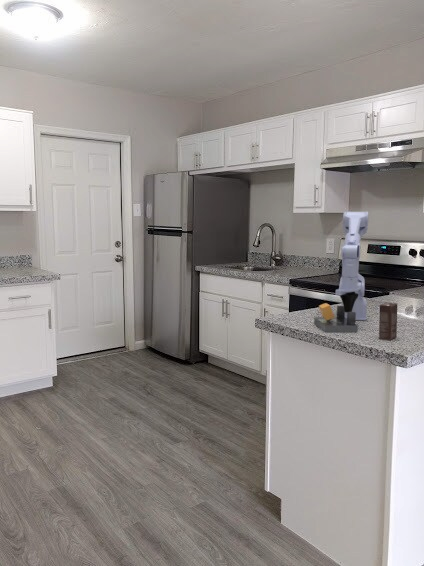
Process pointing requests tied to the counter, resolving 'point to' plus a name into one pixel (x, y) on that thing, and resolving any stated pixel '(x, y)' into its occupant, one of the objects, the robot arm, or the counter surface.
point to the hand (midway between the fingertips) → (348, 312)
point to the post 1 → (340, 312)
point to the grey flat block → (334, 325)
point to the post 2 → (351, 318)
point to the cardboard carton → (326, 312)
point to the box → (388, 321)
